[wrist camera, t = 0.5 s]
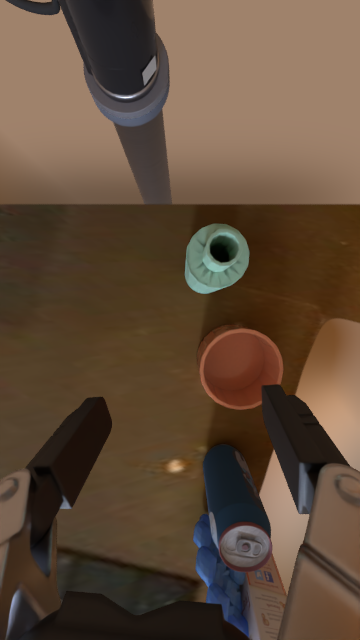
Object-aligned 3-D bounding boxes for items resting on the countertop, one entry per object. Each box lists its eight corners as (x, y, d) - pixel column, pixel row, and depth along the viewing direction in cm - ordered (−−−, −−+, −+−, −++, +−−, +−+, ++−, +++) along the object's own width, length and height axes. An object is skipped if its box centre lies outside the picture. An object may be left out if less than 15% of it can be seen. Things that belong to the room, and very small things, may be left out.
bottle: (178, 282, 30) (174, 264, 16) (196, 245, 30) (208, 195, 16) (213, 300, 31) (239, 297, 17) (232, 264, 30) (275, 230, 16)
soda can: (197, 473, 33) (206, 569, 21) (207, 436, 32) (222, 513, 20) (237, 482, 33) (268, 584, 21) (248, 445, 32) (286, 528, 21)
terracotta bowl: (185, 372, 32) (185, 387, 26) (216, 312, 31) (224, 314, 25) (244, 402, 32) (257, 423, 26) (278, 343, 31) (298, 352, 26)
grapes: (251, 541, 34) (288, 671, 22) (218, 559, 34) (236, 695, 22) (217, 489, 33) (237, 593, 21) (183, 507, 34) (184, 619, 22)
